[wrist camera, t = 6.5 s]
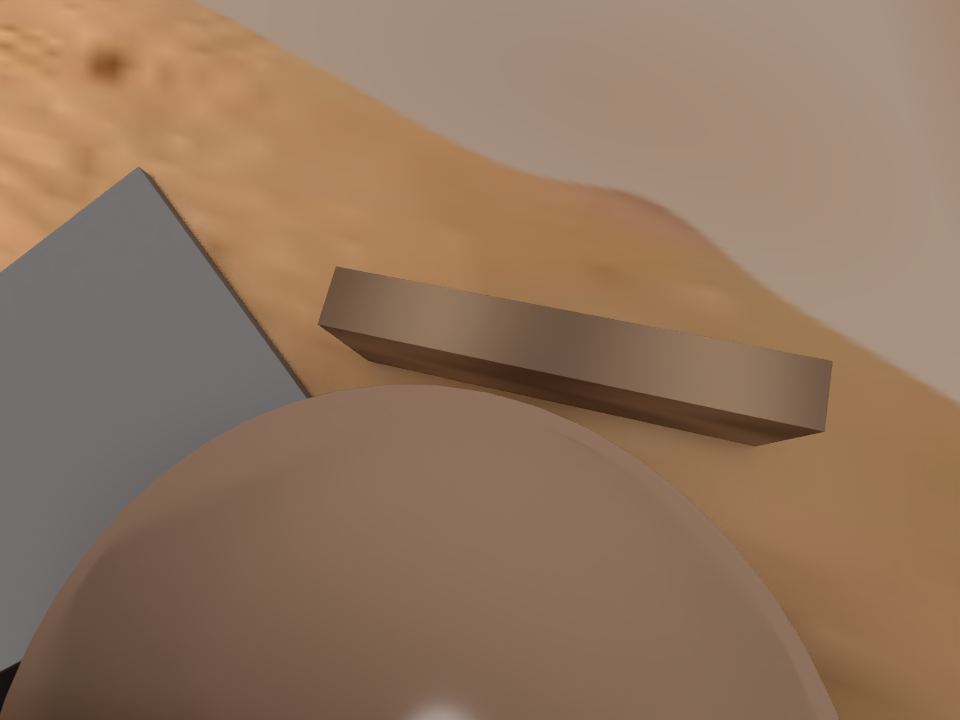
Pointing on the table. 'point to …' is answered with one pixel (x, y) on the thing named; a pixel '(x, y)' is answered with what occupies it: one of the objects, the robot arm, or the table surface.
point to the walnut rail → (581, 359)
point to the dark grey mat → (111, 383)
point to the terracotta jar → (414, 581)
